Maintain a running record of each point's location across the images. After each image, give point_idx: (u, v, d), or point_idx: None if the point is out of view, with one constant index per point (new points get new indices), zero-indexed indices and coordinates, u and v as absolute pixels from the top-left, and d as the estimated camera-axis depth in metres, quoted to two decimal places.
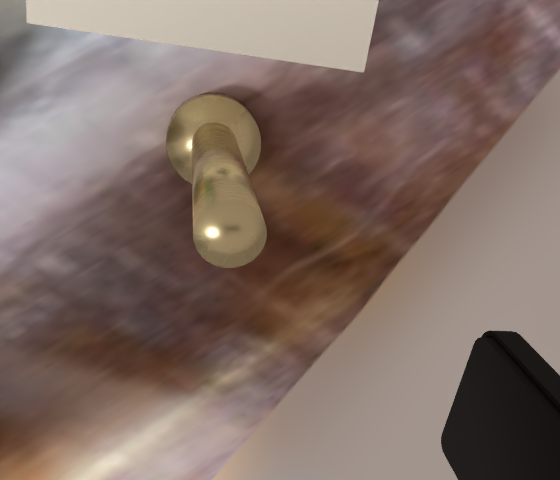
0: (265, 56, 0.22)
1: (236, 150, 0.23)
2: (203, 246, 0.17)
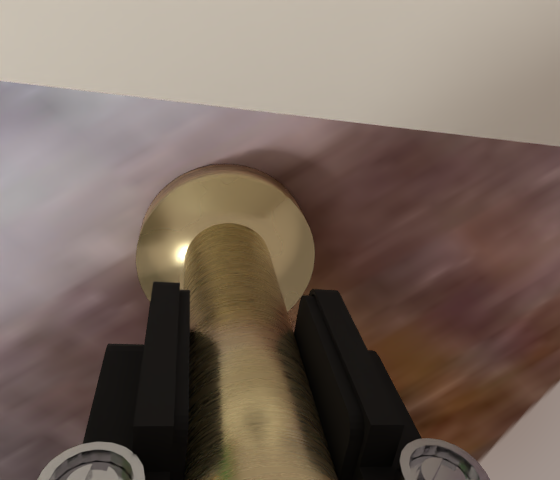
0: (354, 118, 0.09)
1: (281, 326, 0.10)
2: None
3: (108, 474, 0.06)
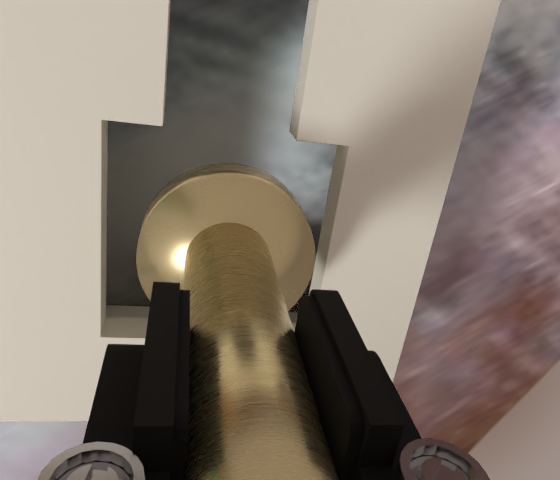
0: None
1: (282, 325, 0.10)
2: None
3: (108, 474, 0.06)
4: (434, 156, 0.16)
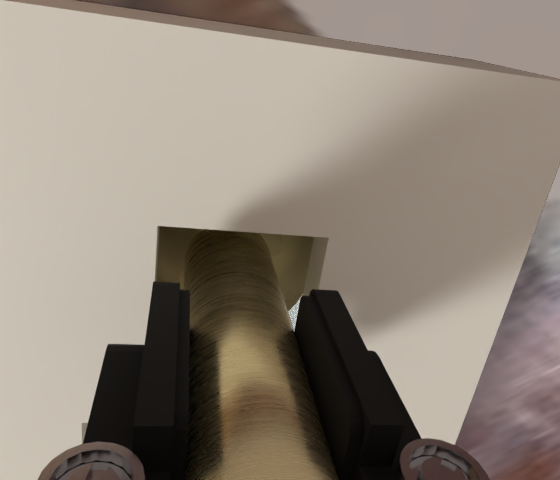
0: None
1: (282, 325, 0.10)
2: None
3: (108, 474, 0.06)
4: (439, 422, 0.15)
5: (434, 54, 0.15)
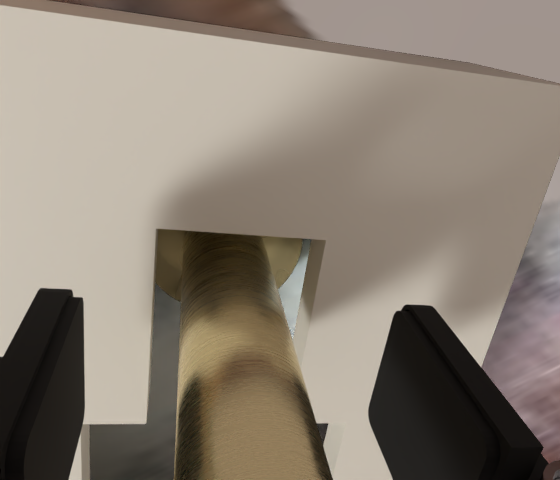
0: None
1: (268, 290, 0.11)
2: None
3: None
4: None
5: (431, 57, 0.15)
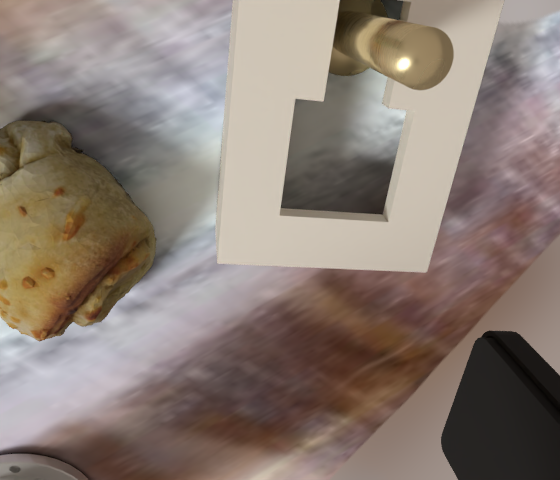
0: (363, 268, 0.34)
1: None
2: (402, 69, 0.20)
3: None
4: (459, 116, 0.30)
5: None
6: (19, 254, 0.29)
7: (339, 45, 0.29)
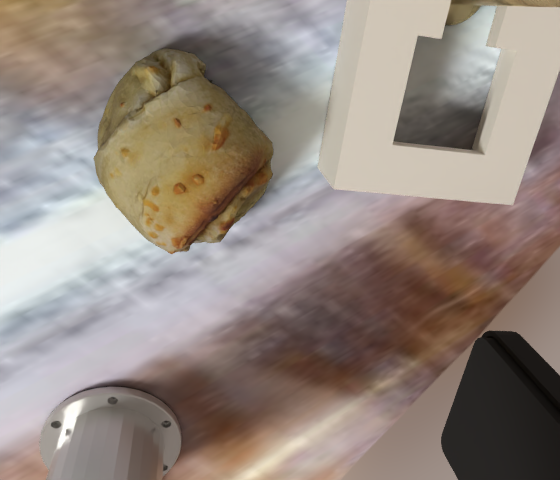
0: (458, 199, 0.38)
1: None
2: None
3: None
4: (553, 57, 0.34)
5: None
6: (173, 162, 0.32)
7: None
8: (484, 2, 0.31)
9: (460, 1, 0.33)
